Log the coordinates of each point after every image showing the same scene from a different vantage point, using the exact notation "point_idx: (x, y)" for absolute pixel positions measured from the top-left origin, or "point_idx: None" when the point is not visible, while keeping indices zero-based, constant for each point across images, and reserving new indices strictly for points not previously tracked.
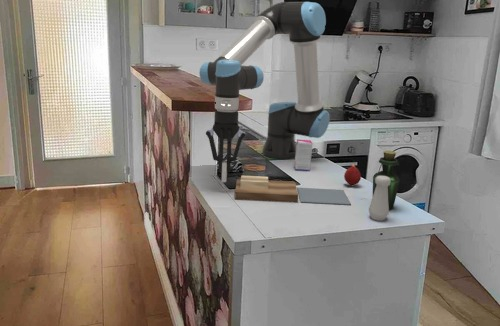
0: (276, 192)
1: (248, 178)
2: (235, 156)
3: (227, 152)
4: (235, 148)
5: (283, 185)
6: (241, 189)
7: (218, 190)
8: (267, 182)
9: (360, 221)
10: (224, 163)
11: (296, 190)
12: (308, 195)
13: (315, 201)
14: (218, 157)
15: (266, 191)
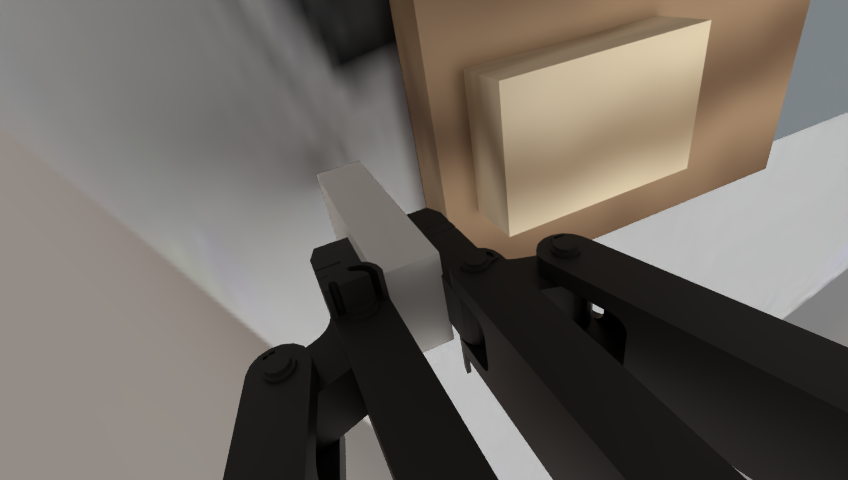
0: (678, 180)
1: (563, 146)
2: (608, 352)
3: (540, 447)
4: (708, 438)
5: (747, 11)
6: (489, 231)
7: (272, 156)
8: (680, 170)
9: (843, 236)
10: (426, 347)
11: (784, 90)
12: (808, 33)
13: (801, 119)
14: (360, 415)
15: (631, 190)
